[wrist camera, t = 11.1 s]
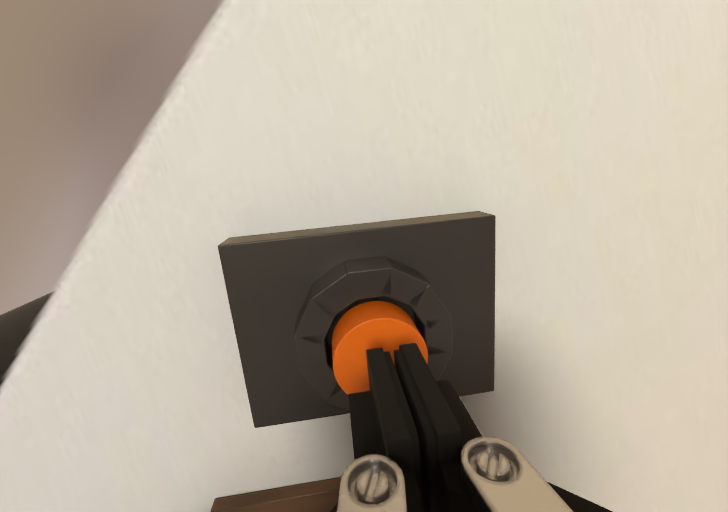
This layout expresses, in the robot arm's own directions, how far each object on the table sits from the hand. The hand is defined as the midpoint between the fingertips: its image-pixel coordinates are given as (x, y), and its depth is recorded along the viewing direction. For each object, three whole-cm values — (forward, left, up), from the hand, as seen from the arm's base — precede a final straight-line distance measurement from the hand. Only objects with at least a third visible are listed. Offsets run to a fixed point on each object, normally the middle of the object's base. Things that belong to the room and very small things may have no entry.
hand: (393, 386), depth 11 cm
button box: (0, 0, -6) cm, 6 cm away
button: (0, 0, -3) cm, 3 cm away
